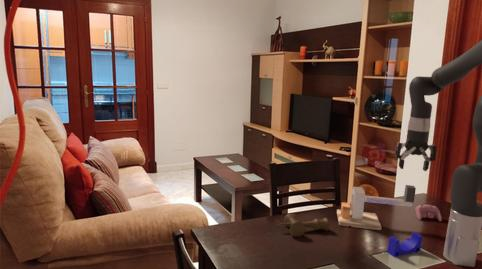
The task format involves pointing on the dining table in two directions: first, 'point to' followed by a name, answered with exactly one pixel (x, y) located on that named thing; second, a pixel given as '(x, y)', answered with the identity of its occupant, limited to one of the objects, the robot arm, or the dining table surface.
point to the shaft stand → (359, 213)
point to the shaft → (406, 201)
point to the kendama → (303, 224)
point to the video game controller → (429, 208)
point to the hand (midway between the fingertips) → (413, 169)
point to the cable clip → (405, 245)
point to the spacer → (345, 210)
